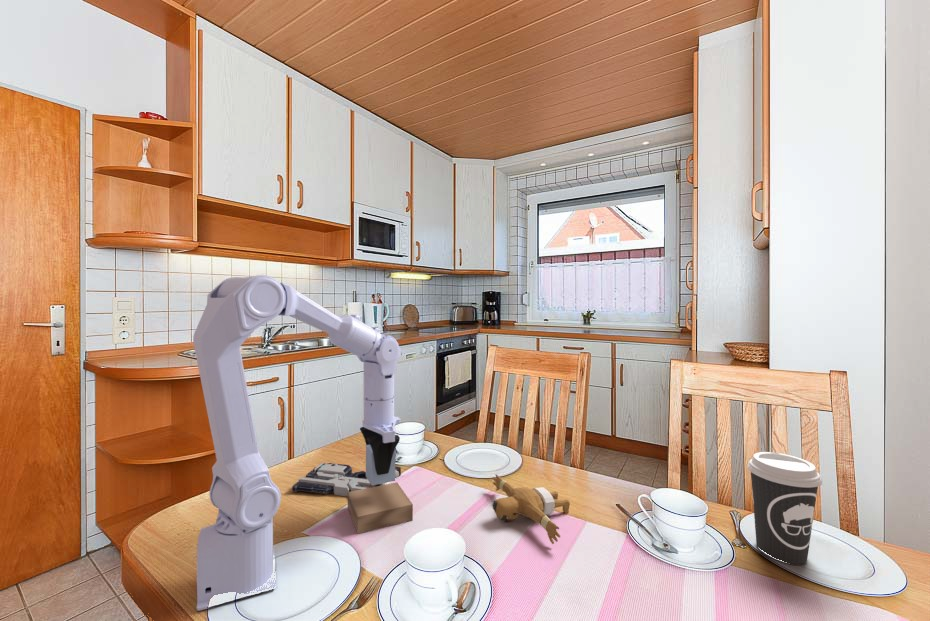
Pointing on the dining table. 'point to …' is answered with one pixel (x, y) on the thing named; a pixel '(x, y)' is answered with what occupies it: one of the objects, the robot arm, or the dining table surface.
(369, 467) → the slate block
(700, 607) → the dining table surface
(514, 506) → the toy
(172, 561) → the dining table surface
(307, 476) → the toy gun
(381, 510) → the walnut base
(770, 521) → the coffee cup
